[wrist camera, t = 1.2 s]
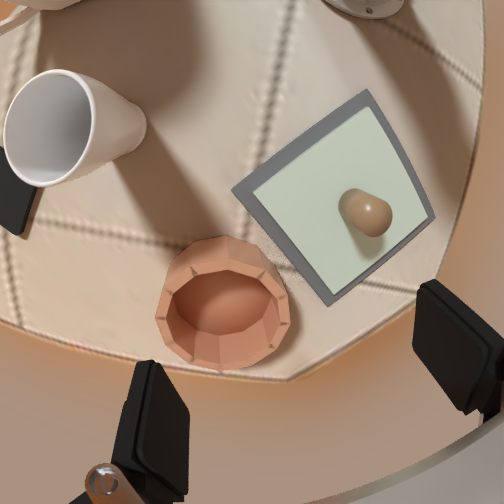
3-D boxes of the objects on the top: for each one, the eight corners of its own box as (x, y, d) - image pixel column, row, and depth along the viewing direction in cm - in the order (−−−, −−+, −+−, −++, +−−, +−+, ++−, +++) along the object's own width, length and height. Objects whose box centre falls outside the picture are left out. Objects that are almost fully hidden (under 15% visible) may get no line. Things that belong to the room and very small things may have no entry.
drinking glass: (167, 138, 27) (119, 142, 13) (111, 174, 27) (31, 212, 14) (136, 82, 24) (69, 43, 10) (82, 120, 25) (-12, 120, 11)
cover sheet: (365, 107, 27) (394, 104, 22) (424, 215, 32) (453, 230, 27) (252, 192, 29) (260, 205, 24) (331, 291, 35) (349, 318, 29)
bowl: (228, 212, 30) (231, 231, 25) (299, 294, 35) (313, 323, 29) (142, 285, 32) (130, 315, 27) (217, 352, 37) (218, 385, 31)
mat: (365, 89, 27) (367, 88, 26) (433, 216, 33) (435, 217, 33) (230, 189, 29) (231, 190, 29) (326, 305, 36) (327, 306, 35)
